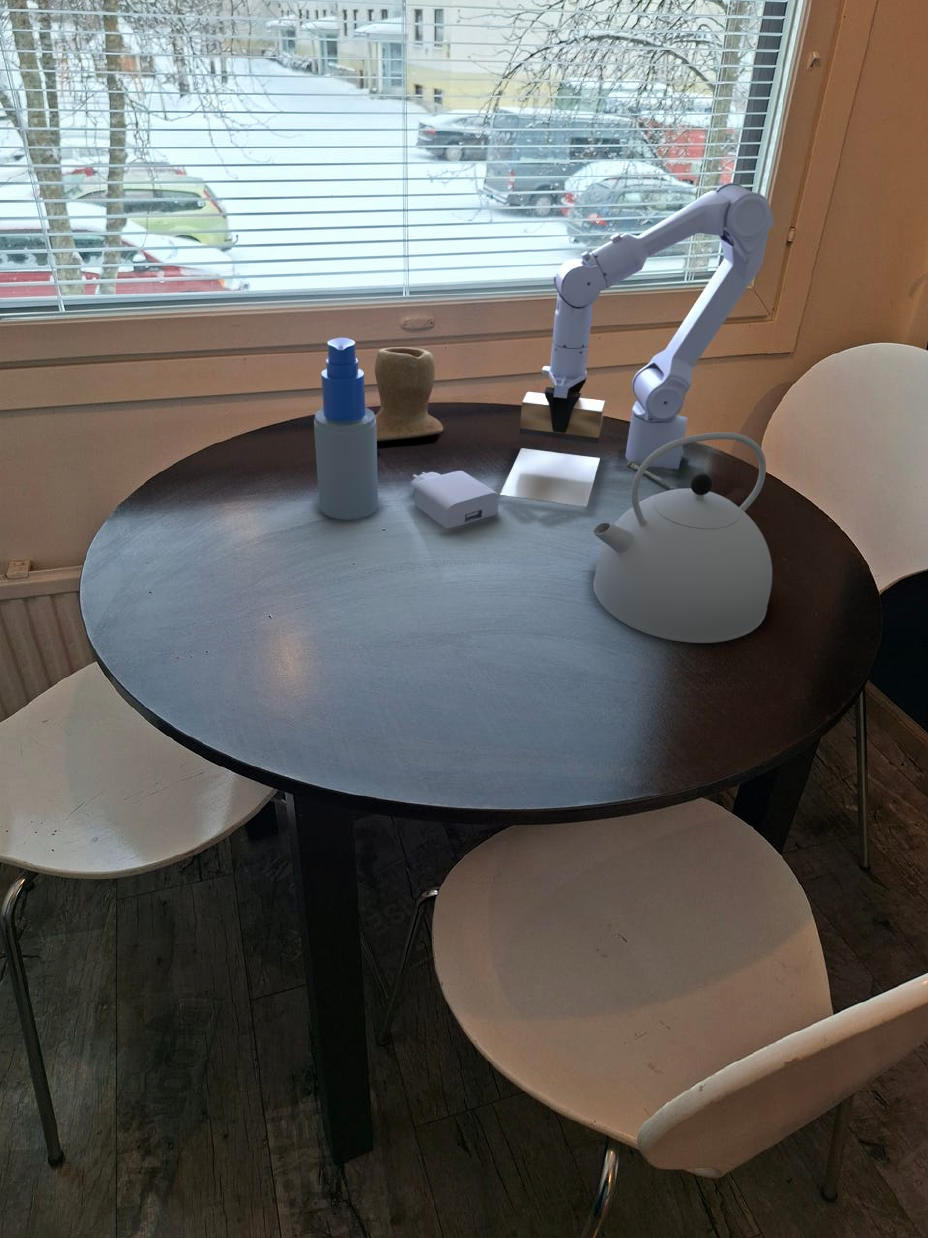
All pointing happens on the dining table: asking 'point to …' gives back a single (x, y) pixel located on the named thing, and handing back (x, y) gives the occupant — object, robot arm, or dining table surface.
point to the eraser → (581, 423)
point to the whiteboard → (552, 477)
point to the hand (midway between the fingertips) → (561, 425)
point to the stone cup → (404, 393)
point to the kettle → (686, 560)
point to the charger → (454, 498)
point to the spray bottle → (345, 438)
